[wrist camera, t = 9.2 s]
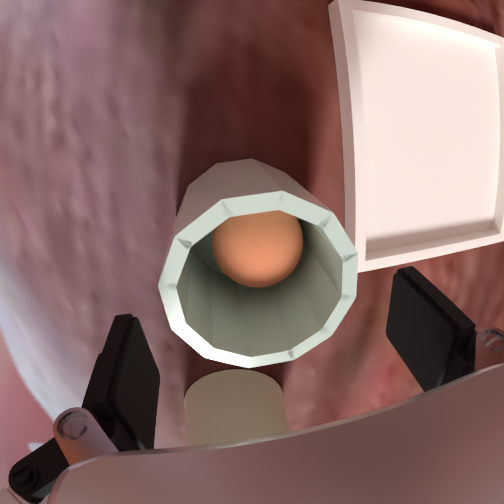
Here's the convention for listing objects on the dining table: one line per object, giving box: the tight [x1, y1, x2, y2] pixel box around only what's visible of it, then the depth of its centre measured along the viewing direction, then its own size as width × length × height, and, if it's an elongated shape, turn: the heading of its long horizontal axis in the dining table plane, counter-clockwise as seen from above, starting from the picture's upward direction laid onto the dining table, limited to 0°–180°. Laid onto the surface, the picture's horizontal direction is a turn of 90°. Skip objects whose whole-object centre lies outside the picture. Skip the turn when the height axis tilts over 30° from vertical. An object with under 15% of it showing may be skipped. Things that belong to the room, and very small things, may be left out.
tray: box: [328, 0, 504, 273], centre depth 19 cm, size 16×18×2 cm
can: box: [184, 369, 291, 447], centre depth 22 cm, size 9×9×12 cm
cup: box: [158, 158, 358, 368], centre depth 17 cm, size 8×8×8 cm
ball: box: [212, 210, 303, 287], centre depth 18 cm, size 5×5×5 cm
